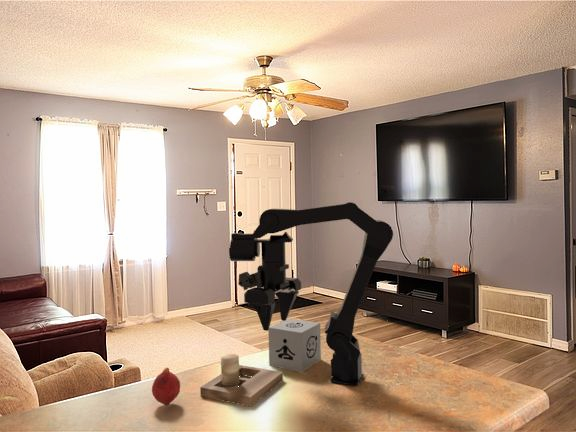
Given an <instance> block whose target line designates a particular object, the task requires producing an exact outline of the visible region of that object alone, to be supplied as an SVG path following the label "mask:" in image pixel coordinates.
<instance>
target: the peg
mask: <svg viewBox="0 0 576 432" xmlns="http://www.w3.org/2000/svg"><path fill="white" fill-rule="evenodd" d="M239 358H240V356H239V355H238V354H235V353H228V354H227V353H226V354H224V355H222V356H221V357H220V369H221V370H220V371H221V373H220V375H221V378H222V382H221V384H222V386H223V388H227V389H232V390H234V389H236V388H237V387H238V384H239V383H240V381H239V365H240V361H239V360H240V359H239Z"/></svg>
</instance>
